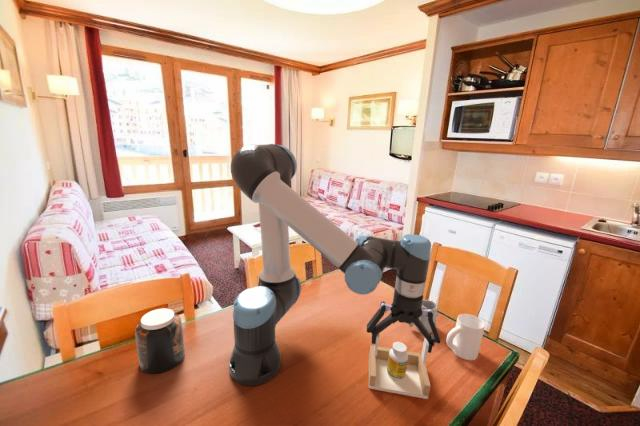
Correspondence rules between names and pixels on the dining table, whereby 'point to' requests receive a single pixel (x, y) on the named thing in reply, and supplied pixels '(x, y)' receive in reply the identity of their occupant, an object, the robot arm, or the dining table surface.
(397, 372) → the supplement bottle
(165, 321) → the jar
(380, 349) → the u rest
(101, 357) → the dining table surface
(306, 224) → the robot arm
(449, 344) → the mug
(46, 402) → the dining table surface
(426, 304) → the mug
